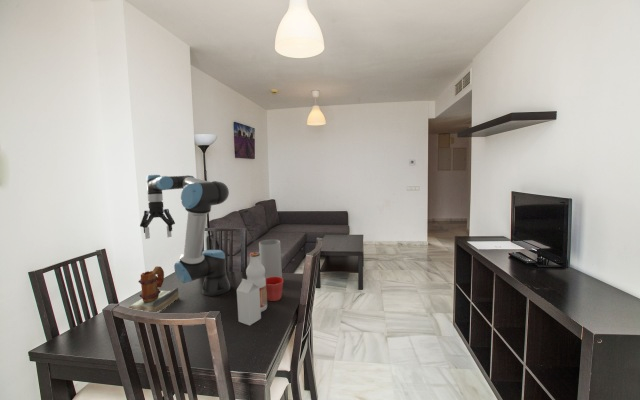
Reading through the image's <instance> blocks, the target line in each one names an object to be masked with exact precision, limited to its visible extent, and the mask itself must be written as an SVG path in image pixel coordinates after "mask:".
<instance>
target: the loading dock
mask: <svg viewBox="0 0 640 400" xmlns="http://www.w3.org/2000/svg"><path fill="white" fill-rule="evenodd" d="M160 291H161V292H160V293H159V296H158V298H157V299H156V300H155V301H152V302H144V301H143V299H142V298H140V299H138V300H137V301H135V302H134V303H133V304H131V305H129V306H128V309H129V308H132V309H137V310H143V311H149V312H157V311H159V310H162V309H164V308H165V307H167V306H168V305H169V306H171V305H172V304H173V303H174V301H175V300H176V301H177V300H179V299H178V298H180V297H179V296H180V295H179V288H178V287H174V288H173V289H172V290H160ZM176 301H175V302H176ZM171 303H172V304H171ZM170 304H171V305H170ZM169 306H168V307H169ZM168 307H167V308H168ZM165 309H166V308H165ZM165 309H164V310H165Z"/></svg>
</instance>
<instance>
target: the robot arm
mask: <svg viewBox="0 0 640 400" xmlns="http://www.w3.org/2000/svg"><path fill="white" fill-rule="evenodd" d="M179 189H180V190H181V194H180V200H181V204H182V207H183V208H185V209H184V210H185V211H186V212H187V219H186V220H187V223H186V231H185V241H184V251H183V253H182V254H181V255H180V257H179V261H176V262H175V263H174V266H173V268H174V273H175V276H176V278H177V279H178V281H180V283H182V284H188V283H192V282H194V281H196V280H199V279H202V278H204V281H203V284H202V286H201V287H202V288H201V293H202V294H203V295H205V296H209V297H211V296H213V297H214V296H219V295H224V294H226V293H228V292H229V291H230V290H231V284H230V281H229V279H228V276H227V269H226V254H225V252H224V251H223V250H221V249H207V250H204V251H203V247H204V241H205V239H204V238H205V233H206V232H205V231H206V225H207V224H206V223H207V217H208V214H209V213H210V212H211V211H212V206H215V205H216V206H217V205H220V204H223V203H224V202H225V201H226V200H227V199H228V198H229V194H230V189H229V187H228V186H227V185H226V183H224V182H222V181H215V180H213V181H208V180H203V179H199V178H195V177H194V176H193V175H189V174H188V175H178V176H177V175H176V176H175V175H173V176H167V175H160V174H149V175H146V190H147V202H148V203H147V204H148V209H149V210H144V211H143V216H142V219H141V222H140V224H139V227H142V228H143V234H144V236H145V240H146V239H147V240H148V239H150V237H151V236H150V235H151V234H150V226H149V225H150V224H151V223H152V222H153V219H154V218H160V219H161V220H162V221H163V222H165V224H166V225H167V226H166V235H167V238H171V237H172V231H173V225H175V224H176V222H175V220H174V218H173V217H172V214H171V213H170V210H169V208H164V199H163V198H164V197H163V191H168V190H179Z"/></svg>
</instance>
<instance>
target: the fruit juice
mask: <svg viewBox="0 0 640 400" xmlns="http://www.w3.org/2000/svg"><path fill="white" fill-rule="evenodd" d="M245 274H246V280H250V281H253V282H254V284H255V285H256V286H258V287H259V291H260V309H261V313H262V312H264V311H265V310H267V308H268V300H267V291H266V279H265V276H264V275H265V268H264V266H263V265H262V264H261V262H260V253H259V251H251V252H250V253H249V263H248V266H247V267H246V269H245Z"/></svg>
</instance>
